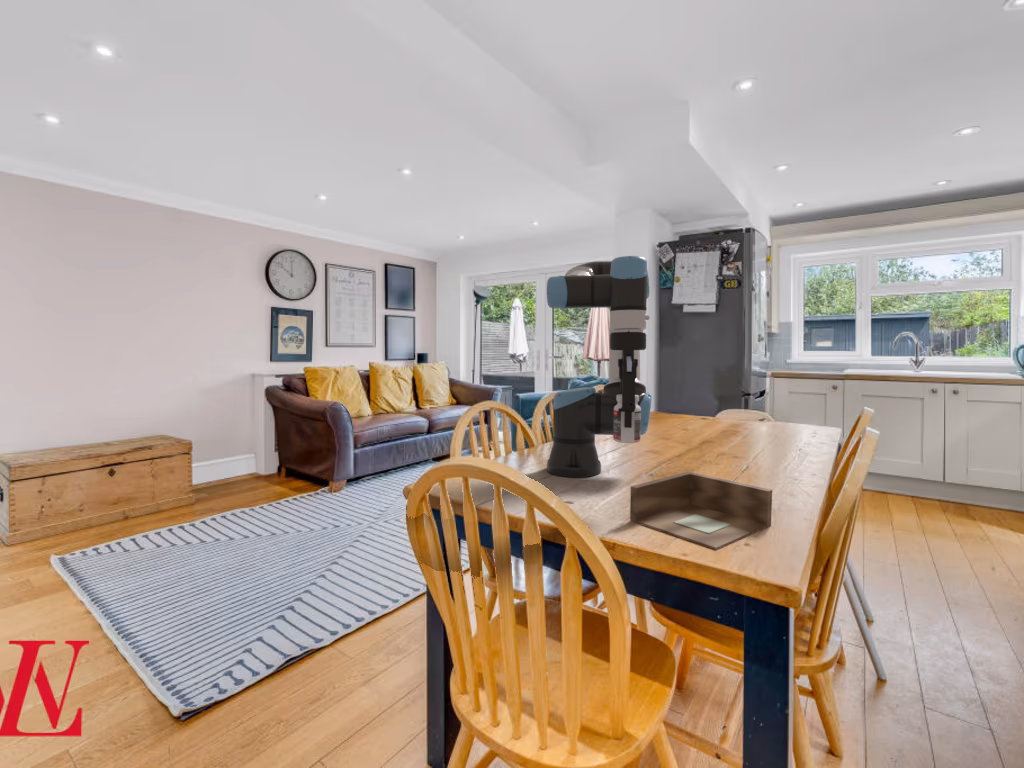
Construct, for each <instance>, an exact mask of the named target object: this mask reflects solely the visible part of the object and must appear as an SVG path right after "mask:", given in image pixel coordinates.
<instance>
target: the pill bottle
mask: <svg viewBox="0 0 1024 768" xmlns="http://www.w3.org/2000/svg"><path fill="white" fill-rule="evenodd" d="M616 400H617V402H618V404H617V405H616V406H615V407H614V427H613V435H612V439H613V441H615V442H617V443H620V444H621V412H618V409H619V408H622V394H619V395H617V397H616ZM638 401H639V396H638V395H635V406H636V408H635V410H634V412H635V420H634V443H633V444H635V443H639V442H640V441H641V436H642V435H641V408H640V406H638Z"/></svg>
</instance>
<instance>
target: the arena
mask: <svg viewBox="0 0 1024 768" xmlns="http://www.w3.org/2000/svg"><path fill="white" fill-rule="evenodd" d="M629 506H630V509H629V510H630V511H629V512H630V514H629V518H630V519H629V521H630V522H633V523H636V524H639V525H641V526H645V527H648V528H650V529H653V530H656V531H659V532H662V533H666V534H667V535H671V536H674V537H677V538H680V539H683V540H685V541H689V542H692V543H695V544H696V545H697V544H698V545H701V546H703V547H706V548H709V549H712V550H719V549H721V548H724V547H726V546H727V545H731V544H734V543H735V542H737V541H739V540H741V539H744V538H746V537H749V536H750V535H752V534H755V533H757V532H759V531H761V530H763V529H764V530H765V529H766V528H768V527H771V526H772V509H773V489H770V488H765V487H760V486H756V485H750V484H747V483H743V482H738V481H732V480H728V479H723V478H720V477H713V476H710V475H705V474H702V473H695V472H691V471H685V472H681V473H678V474H673V475H669V476H666V477H663V478H662V477H661V478H658V479H653V480H651V481H646V482H643V483H639V484H635V485H631V486H630V505H629Z"/></svg>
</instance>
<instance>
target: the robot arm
mask: <svg viewBox="0 0 1024 768" xmlns="http://www.w3.org/2000/svg"><path fill="white" fill-rule="evenodd" d="M649 297H650V278H649V272H648V260H647V259H646V258H645V257H644V256H639V255H638V256H637V255H626V256H625V255H624V256H619V257H615V258H613V259H612V261H608V260H607V261H590V262H585V263H582V264H580V265H579V264H578V265H576V266H573V267H571V268H570V269H568V270H567V272H566V273H565V275H558V276H557V275H556V276H550V277H549V278H548V279H547V282H546V302H547V306H548V307H549V308H551V309H560V310H564V309H582V308H583V309H585V308H587V309H588V308H593V309H594V308H595V309H596V308H597V309H599V308H600V309H601V308H605V309H606V308H607V309H608V310H609V338H608V339H609V340H608V341H609V347H608V348H609V349H608V353H609V354H608V360H609V361H608V382H607V383H606V384H605V385H603V387H602V389H603V390H602V391H603V392H597V390H596V388H595V387H592V386H590V387H578V388H576V387H575V388H569V389H565V390H560V391H557V392H556V393H555V394H554V396H553V403H552V413H553V415H552V418H553V419H552V421H553V426H552V428H553V430H552V434H553V435H552V437H553V438H552V446H551V450H550V454H549V458H548V459H547V461H546V470H547V472H548V473H549V474H552V475H555V476H559V477H568V478H586V477H593V476H596V475H600V474H601V472H602V463H601V460H599V453H598V451H597V447H596V436H599V435H600V436H601V435H602V436H604V435H605V436H613V427H614V407H615V406H616V405H617V404H618V402H617V400H616V397H617V395H619V394H622V408H619V409H618V412H621V443H622V444H635V443H634V420H635V412H634V410H635V408H636V406H635V395H638V396H639V401H638V406H640V408H641V435H640V436H643V435H646V433H647V431H648V428H649V422H650V415H651V408H652V396H653V395H652V394H651V393H650V392H647V386H646V385H645V384H644V383H643V382H642V381H641V354H640V353H641V351H645V350H646V349H647V334H646V332H644V331H645V330H646V329H647V321H648V320H649V321H650V315H647V301H648V300H647V299H649ZM621 443H620V444H621Z"/></svg>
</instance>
